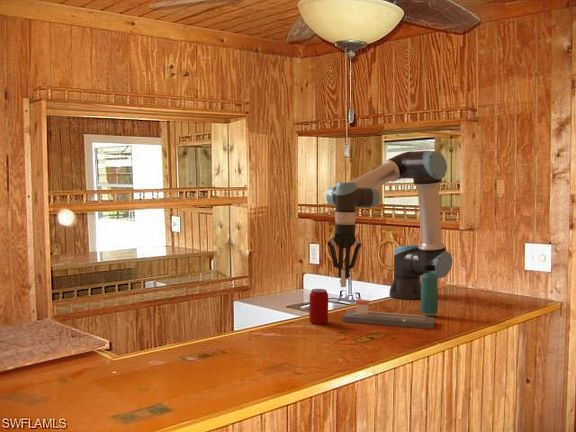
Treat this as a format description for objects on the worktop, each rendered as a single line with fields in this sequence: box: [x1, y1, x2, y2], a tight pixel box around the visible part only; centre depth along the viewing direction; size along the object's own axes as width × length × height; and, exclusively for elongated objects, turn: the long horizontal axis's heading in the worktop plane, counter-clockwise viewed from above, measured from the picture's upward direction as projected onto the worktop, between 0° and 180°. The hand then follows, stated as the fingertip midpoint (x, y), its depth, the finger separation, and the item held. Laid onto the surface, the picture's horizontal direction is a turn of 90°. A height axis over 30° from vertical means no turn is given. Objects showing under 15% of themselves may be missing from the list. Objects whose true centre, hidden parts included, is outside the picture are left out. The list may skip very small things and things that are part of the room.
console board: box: [342, 310, 436, 330], centre depth 224 cm, size 10×32×3 cm, turn 72°
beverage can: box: [308, 288, 329, 325], centre depth 222 cm, size 7×7×12 cm
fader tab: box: [355, 298, 370, 314], centre depth 227 cm, size 3×4×5 cm
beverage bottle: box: [420, 265, 439, 315], centre depth 234 cm, size 6×7×20 cm
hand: (343, 286), depth 229 cm, fingers closed
